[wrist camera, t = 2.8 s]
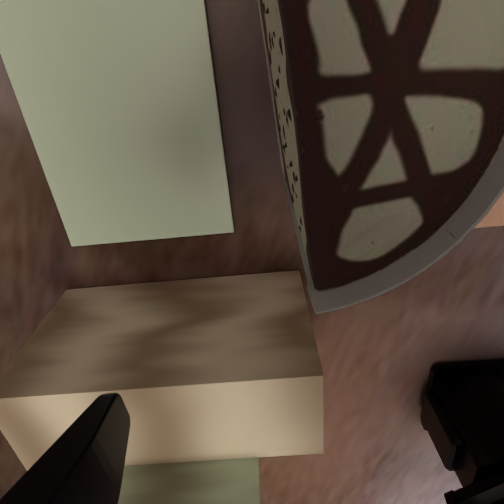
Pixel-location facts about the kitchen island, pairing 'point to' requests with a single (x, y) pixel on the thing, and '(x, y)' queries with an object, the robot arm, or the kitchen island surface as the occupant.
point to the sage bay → (121, 114)
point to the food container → (384, 133)
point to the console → (176, 381)
